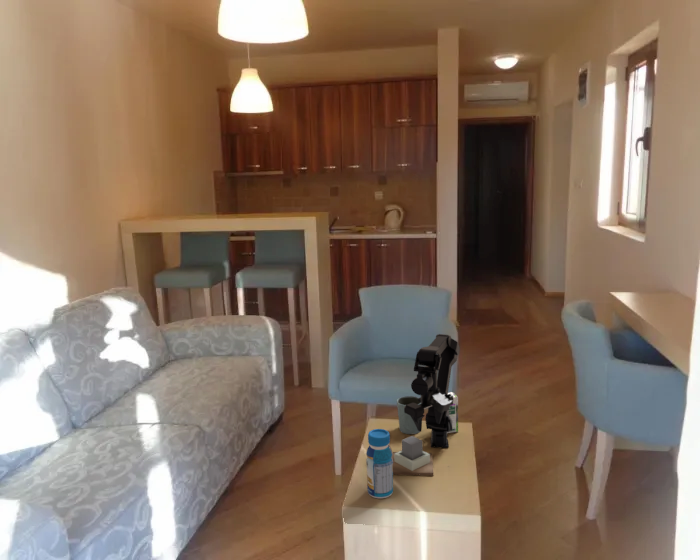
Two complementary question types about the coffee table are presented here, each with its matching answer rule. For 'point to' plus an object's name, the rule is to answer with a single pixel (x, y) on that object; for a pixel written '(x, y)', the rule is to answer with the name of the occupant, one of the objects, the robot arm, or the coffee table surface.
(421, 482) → the coffee table surface
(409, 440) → the banded block
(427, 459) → the holder collar
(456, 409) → the syrup box
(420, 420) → the robot arm
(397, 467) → the walnut board
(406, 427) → the grey green cup
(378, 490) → the beverage bottle
